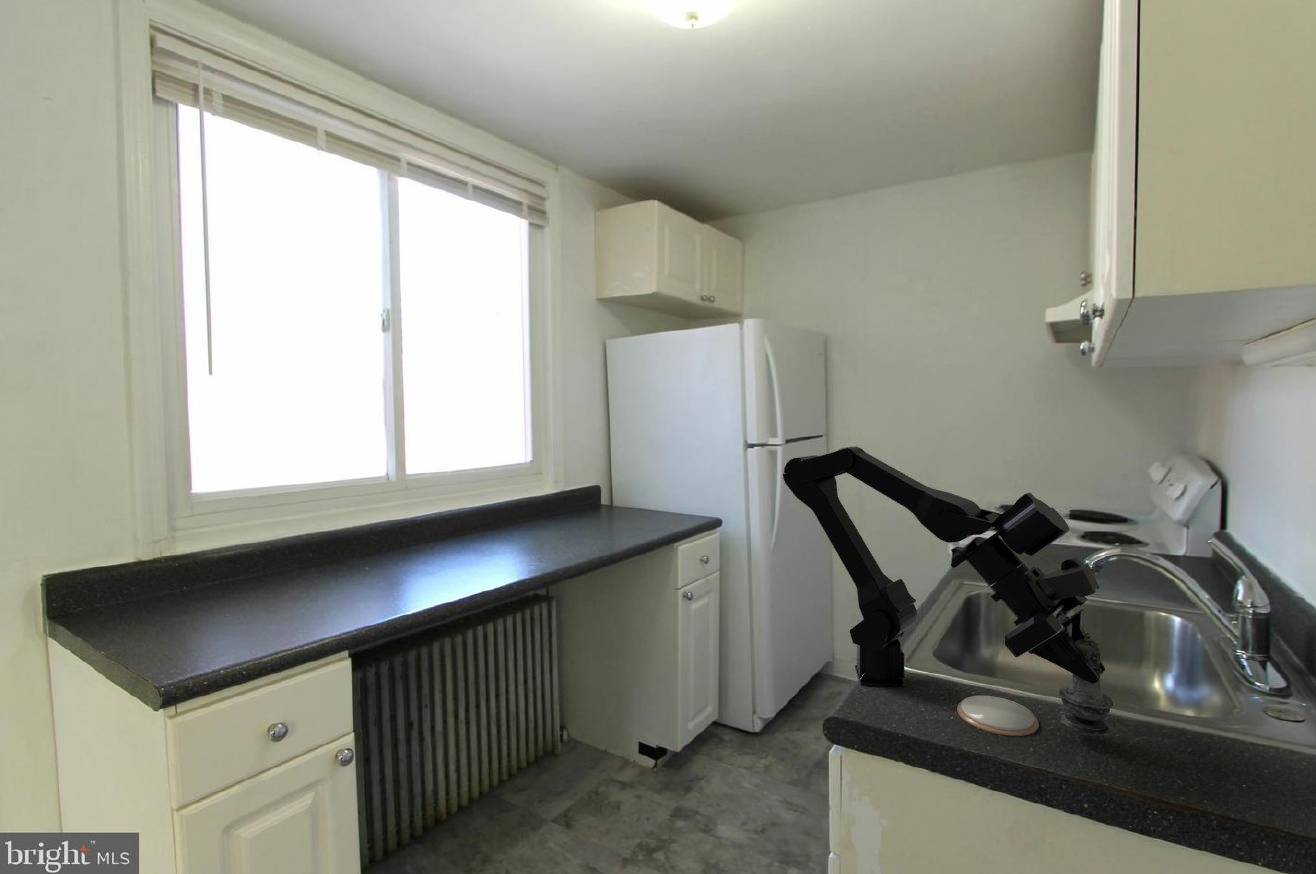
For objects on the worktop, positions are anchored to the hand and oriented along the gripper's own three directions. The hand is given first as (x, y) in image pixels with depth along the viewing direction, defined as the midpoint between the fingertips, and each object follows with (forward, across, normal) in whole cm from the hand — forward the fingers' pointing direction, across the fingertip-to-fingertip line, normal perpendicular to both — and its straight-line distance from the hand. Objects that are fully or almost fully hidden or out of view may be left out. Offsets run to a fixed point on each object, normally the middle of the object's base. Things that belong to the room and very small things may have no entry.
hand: (1099, 676), depth 80 cm
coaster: (-2, -1, +14) cm, 15 cm away
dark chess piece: (+4, 0, +6) cm, 7 cm away
